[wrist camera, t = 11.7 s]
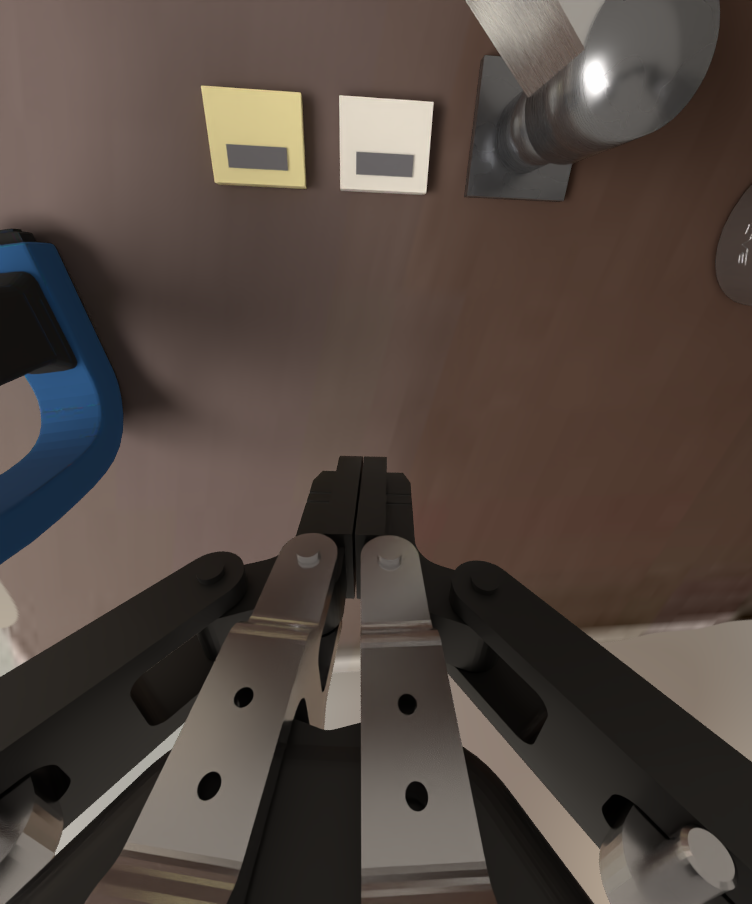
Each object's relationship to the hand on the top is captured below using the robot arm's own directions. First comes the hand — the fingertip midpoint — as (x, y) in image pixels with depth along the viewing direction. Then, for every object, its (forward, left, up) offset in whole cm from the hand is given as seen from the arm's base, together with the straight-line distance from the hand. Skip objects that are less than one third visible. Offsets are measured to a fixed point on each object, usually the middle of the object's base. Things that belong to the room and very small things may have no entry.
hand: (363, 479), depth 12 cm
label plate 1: (+5, -12, -17) cm, 21 cm away
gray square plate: (-10, -13, -17) cm, 23 cm away
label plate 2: (-2, -12, -17) cm, 20 cm away
